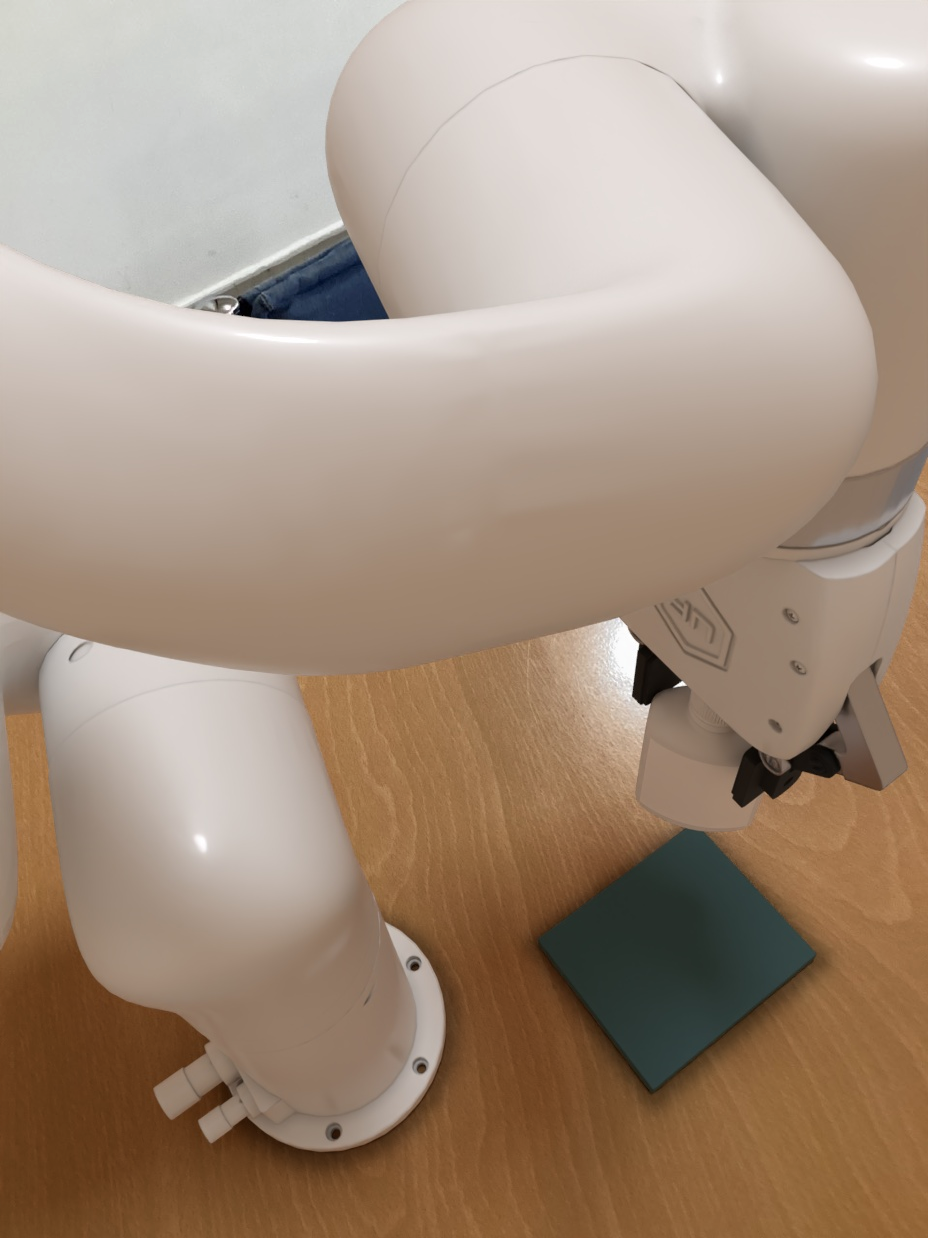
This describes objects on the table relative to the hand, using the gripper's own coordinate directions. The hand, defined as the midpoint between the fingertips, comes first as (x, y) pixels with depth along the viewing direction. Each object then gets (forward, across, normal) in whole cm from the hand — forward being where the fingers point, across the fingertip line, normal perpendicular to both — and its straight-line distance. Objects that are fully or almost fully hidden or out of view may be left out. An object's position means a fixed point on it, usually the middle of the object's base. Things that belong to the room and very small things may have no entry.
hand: (711, 730), depth 45 cm
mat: (+21, +2, -2) cm, 21 cm away
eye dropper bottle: (+7, 0, 0) cm, 7 cm away
